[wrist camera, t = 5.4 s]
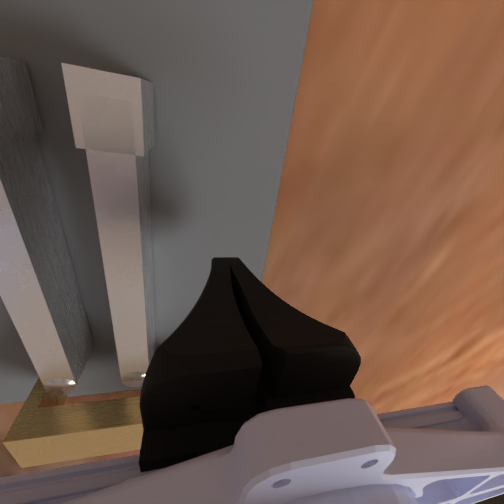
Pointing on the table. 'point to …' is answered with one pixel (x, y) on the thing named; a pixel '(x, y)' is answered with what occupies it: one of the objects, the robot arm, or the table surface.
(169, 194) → the mat
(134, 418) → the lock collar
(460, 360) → the table surface
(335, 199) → the table surface
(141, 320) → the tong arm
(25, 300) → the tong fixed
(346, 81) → the table surface
